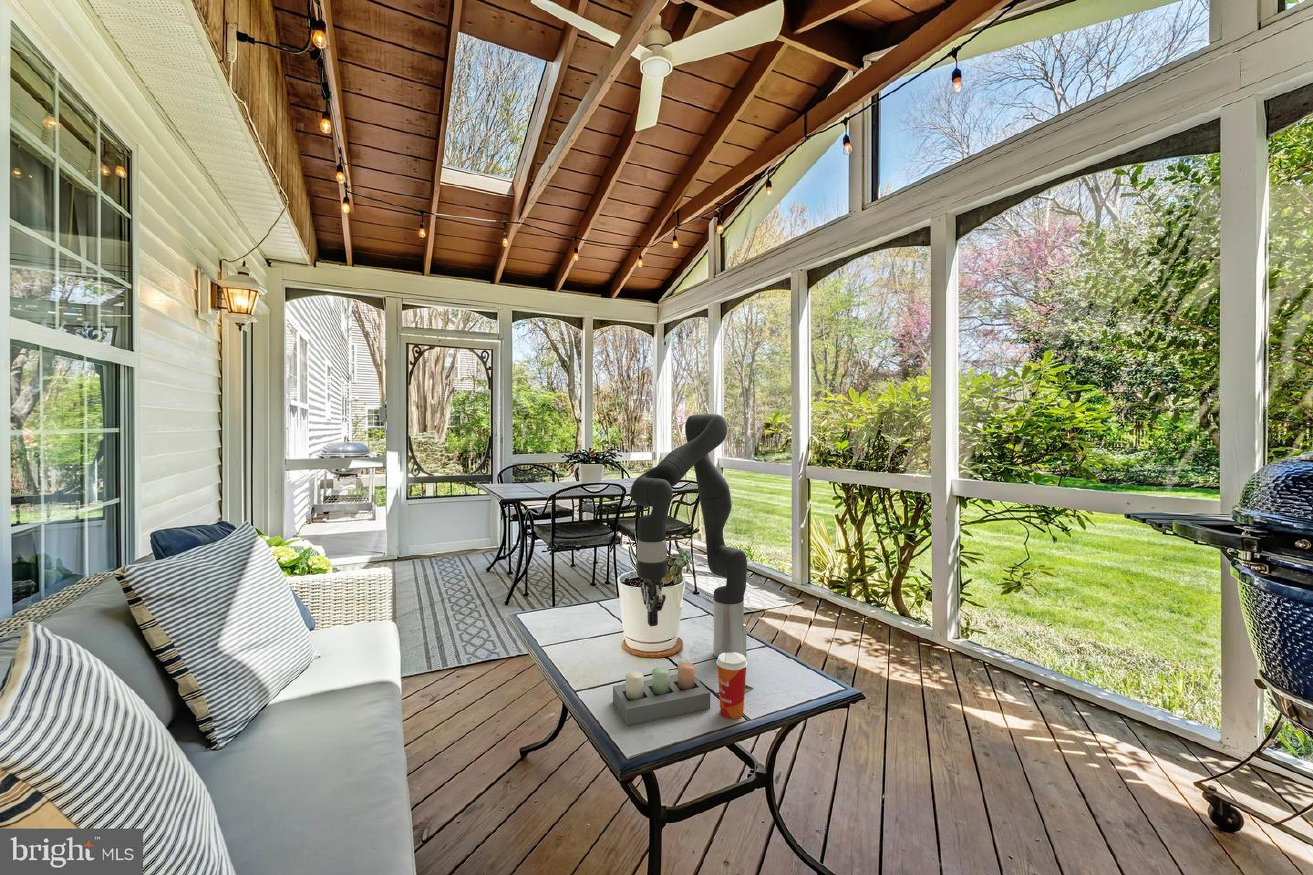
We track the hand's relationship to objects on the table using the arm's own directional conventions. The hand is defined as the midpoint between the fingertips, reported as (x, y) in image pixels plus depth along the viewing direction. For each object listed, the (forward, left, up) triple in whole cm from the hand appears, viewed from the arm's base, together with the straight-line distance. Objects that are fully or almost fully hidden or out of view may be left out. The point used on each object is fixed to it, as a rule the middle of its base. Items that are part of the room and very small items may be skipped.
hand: (652, 624), depth 141 cm
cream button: (+5, 0, -17) cm, 18 cm away
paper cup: (-17, +10, -21) cm, 29 cm away
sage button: (-2, 0, -17) cm, 17 cm away
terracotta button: (-9, 0, -17) cm, 19 cm away
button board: (-2, 0, -21) cm, 21 cm away
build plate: (-23, +1, -22) cm, 32 cm away
